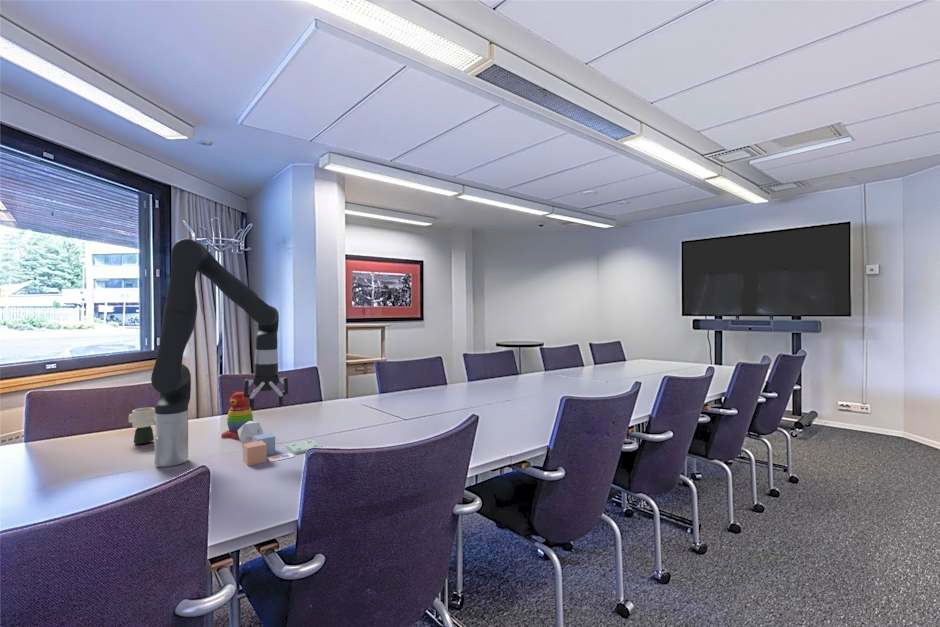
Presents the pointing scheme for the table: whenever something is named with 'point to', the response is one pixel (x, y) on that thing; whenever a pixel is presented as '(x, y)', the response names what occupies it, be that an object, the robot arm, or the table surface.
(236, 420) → the stacking bear
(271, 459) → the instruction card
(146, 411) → the character mug
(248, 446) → the brick terracotta
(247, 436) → the die
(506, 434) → the table surface
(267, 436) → the brick blue
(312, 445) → the baseplate
